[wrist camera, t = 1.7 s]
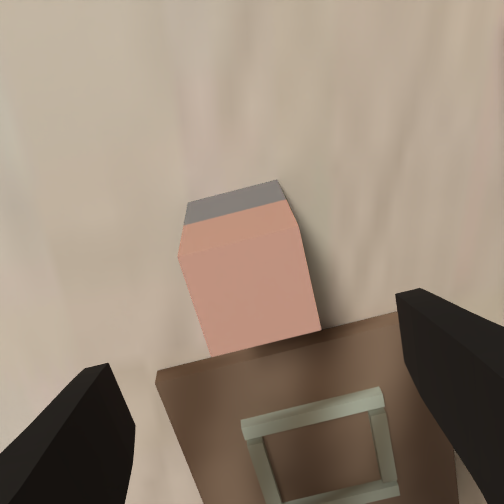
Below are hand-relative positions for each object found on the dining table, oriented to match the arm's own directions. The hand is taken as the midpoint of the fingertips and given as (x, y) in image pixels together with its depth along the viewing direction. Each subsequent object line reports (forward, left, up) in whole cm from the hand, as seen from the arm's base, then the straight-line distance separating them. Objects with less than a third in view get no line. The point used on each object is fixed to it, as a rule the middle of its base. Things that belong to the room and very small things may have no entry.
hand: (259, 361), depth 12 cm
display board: (-1, +13, -10) cm, 17 cm away
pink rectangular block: (0, 0, -10) cm, 11 cm away
